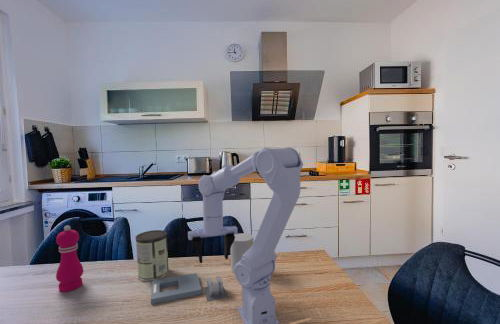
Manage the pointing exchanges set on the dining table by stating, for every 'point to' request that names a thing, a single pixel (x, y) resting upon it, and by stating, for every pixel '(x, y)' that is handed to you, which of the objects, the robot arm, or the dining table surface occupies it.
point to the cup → (240, 248)
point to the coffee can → (152, 255)
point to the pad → (214, 296)
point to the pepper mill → (69, 261)
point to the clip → (215, 286)
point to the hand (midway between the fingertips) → (213, 259)
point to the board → (186, 289)
